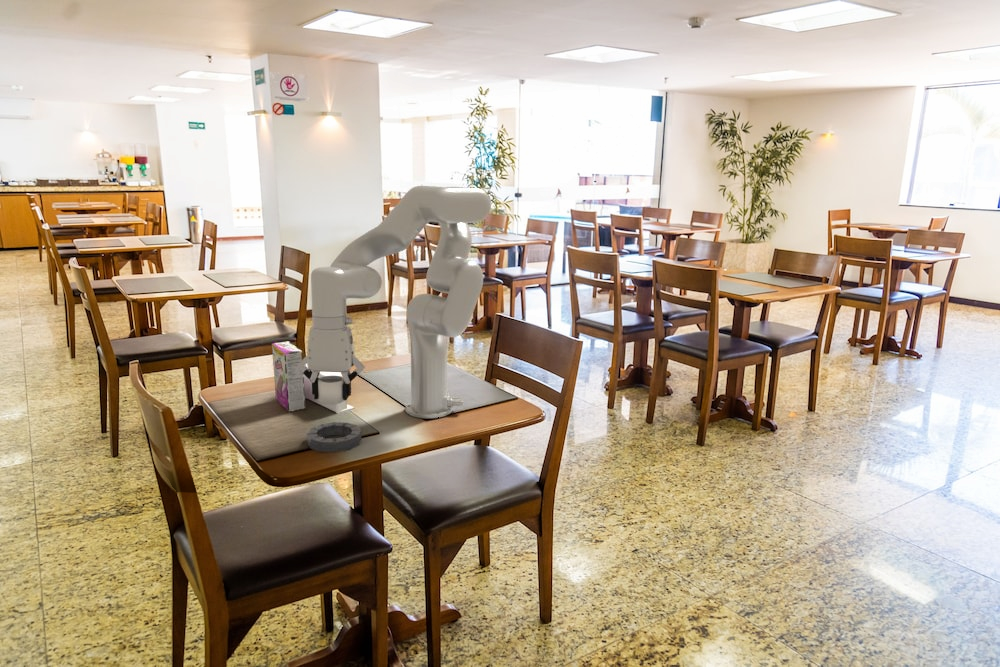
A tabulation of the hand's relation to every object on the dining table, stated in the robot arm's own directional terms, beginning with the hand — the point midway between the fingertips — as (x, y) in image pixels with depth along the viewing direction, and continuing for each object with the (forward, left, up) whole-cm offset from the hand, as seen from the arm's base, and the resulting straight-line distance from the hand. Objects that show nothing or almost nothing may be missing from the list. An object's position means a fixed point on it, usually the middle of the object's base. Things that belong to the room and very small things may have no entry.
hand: (331, 397), depth 155 cm
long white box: (+9, -27, -12) cm, 31 cm away
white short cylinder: (0, 0, -1) cm, 1 cm away
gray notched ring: (0, 0, -11) cm, 11 cm away
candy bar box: (+18, -24, -11) cm, 32 cm away
